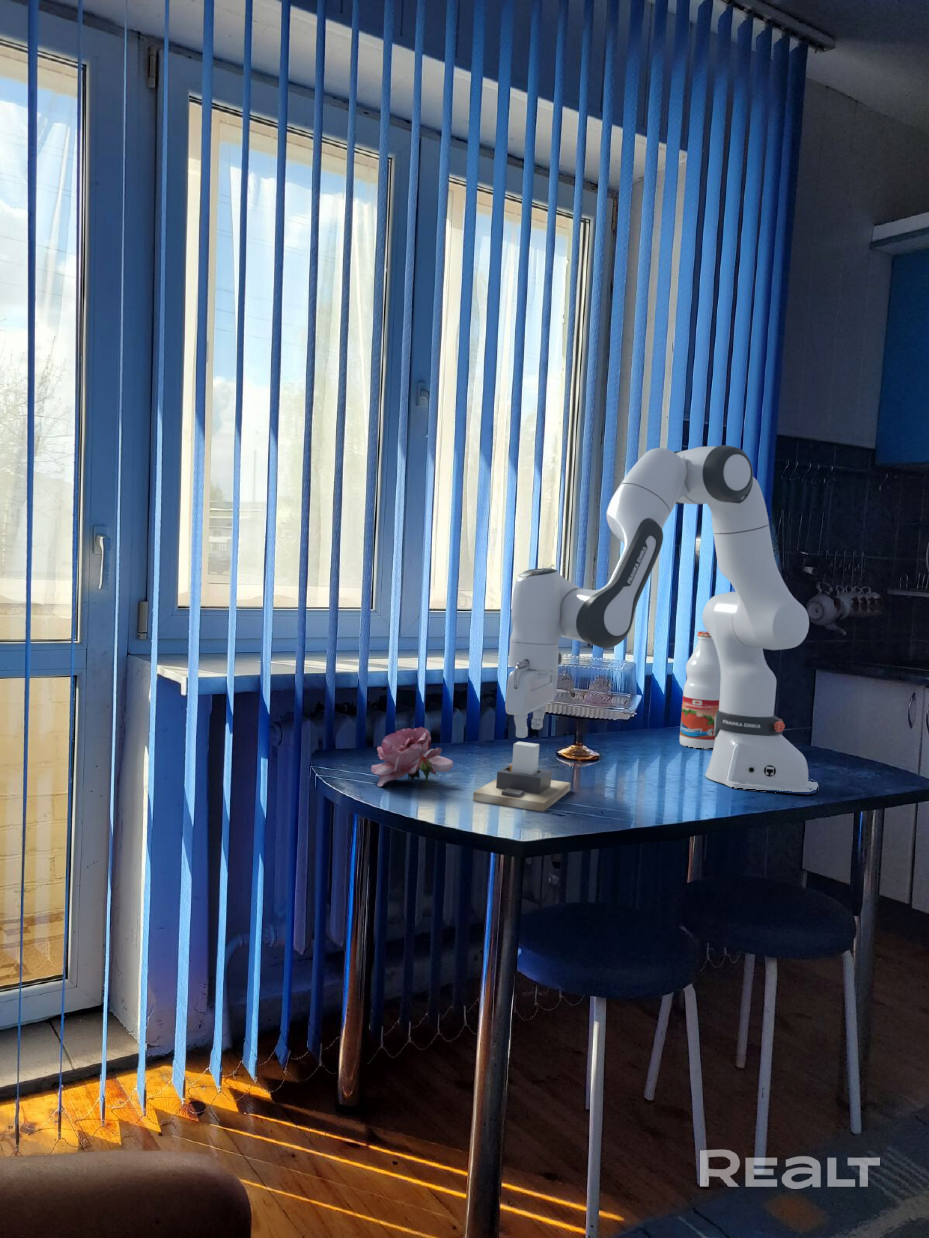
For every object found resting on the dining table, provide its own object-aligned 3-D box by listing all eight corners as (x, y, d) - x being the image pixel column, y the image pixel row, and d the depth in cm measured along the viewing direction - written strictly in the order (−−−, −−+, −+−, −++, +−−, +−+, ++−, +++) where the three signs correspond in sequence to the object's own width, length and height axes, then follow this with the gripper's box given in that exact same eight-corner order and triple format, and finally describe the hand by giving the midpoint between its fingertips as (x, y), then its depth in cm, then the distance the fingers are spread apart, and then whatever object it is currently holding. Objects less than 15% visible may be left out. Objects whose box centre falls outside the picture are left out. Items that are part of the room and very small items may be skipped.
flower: (408, 755, 199) (406, 710, 195) (465, 779, 190) (463, 733, 186) (353, 785, 188) (350, 739, 185) (410, 813, 179) (407, 764, 176)
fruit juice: (724, 746, 247) (733, 633, 245) (710, 751, 239) (719, 634, 237) (687, 740, 252) (696, 629, 250) (672, 745, 245) (682, 630, 243)
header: (550, 786, 186) (551, 770, 186) (539, 794, 179) (540, 777, 179) (508, 780, 189) (509, 764, 189) (496, 787, 182) (497, 771, 182)
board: (569, 790, 190) (570, 779, 190) (543, 811, 174) (544, 799, 173) (504, 780, 195) (505, 770, 195) (472, 800, 178) (473, 788, 178)
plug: (536, 787, 185) (539, 744, 184) (531, 790, 182) (534, 746, 181) (512, 783, 186) (515, 740, 186) (507, 786, 184) (510, 743, 183)
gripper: (533, 664, 172) (529, 744, 173) (564, 654, 191) (560, 726, 192) (498, 661, 174) (494, 740, 175) (532, 651, 193) (528, 722, 194)
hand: (529, 732), depth 184 cm, fingers open, 8 cm apart
